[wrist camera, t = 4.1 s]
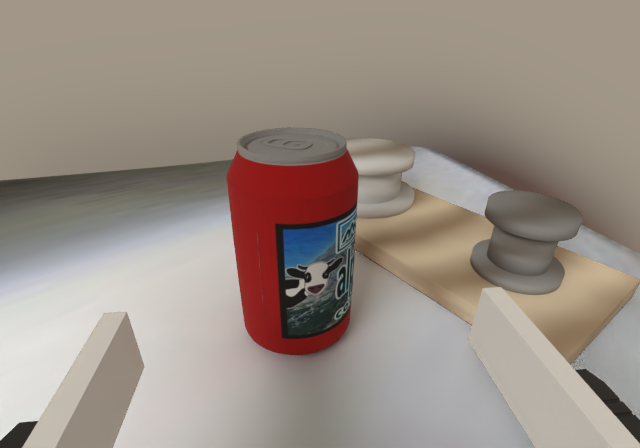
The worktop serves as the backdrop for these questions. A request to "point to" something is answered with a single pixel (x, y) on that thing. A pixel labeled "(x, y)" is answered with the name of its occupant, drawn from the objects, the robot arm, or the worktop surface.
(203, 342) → the worktop surface
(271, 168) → the beverage can
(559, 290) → the wooden knob board
